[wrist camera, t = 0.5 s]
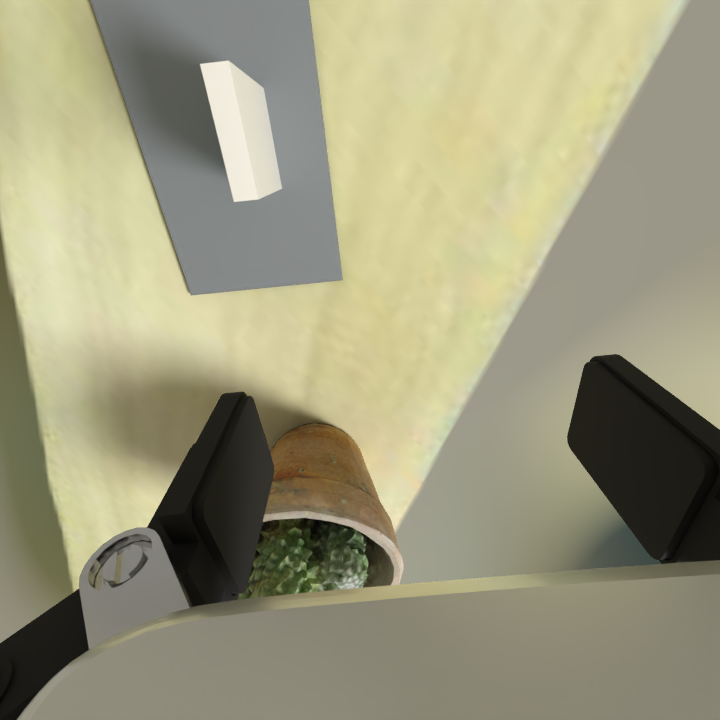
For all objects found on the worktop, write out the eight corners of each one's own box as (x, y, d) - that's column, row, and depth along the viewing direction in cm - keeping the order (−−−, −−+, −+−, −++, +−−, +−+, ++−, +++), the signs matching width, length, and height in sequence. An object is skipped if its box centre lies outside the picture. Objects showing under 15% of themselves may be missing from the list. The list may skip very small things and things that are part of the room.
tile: (241, 90, 28) (197, 64, 20) (263, 87, 28) (228, 60, 20) (262, 190, 31) (231, 202, 23) (282, 188, 31) (258, 199, 23)
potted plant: (218, 421, 44) (87, 683, 22) (364, 380, 41) (378, 629, 20) (280, 515, 52) (230, 769, 31) (404, 486, 50) (445, 739, 28)
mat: (90, -9, 25) (86, -12, 25) (304, -36, 25) (303, -39, 24) (192, 293, 36) (191, 295, 35) (342, 278, 35) (342, 280, 35)
